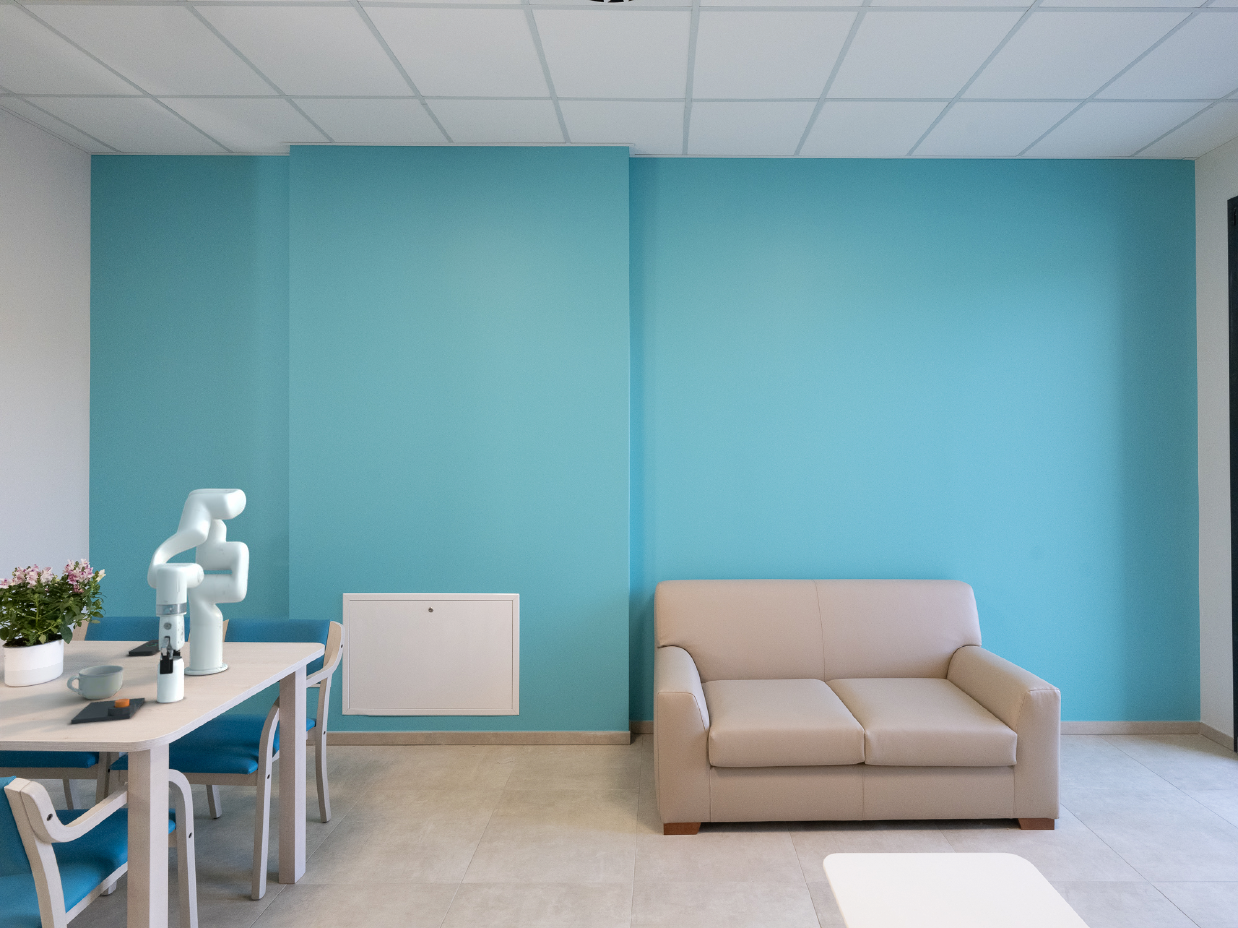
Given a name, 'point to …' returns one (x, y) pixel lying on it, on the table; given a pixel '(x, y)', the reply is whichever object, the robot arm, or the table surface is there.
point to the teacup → (98, 681)
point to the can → (171, 682)
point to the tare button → (121, 703)
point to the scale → (107, 711)
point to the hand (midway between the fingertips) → (170, 669)
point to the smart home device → (146, 649)
